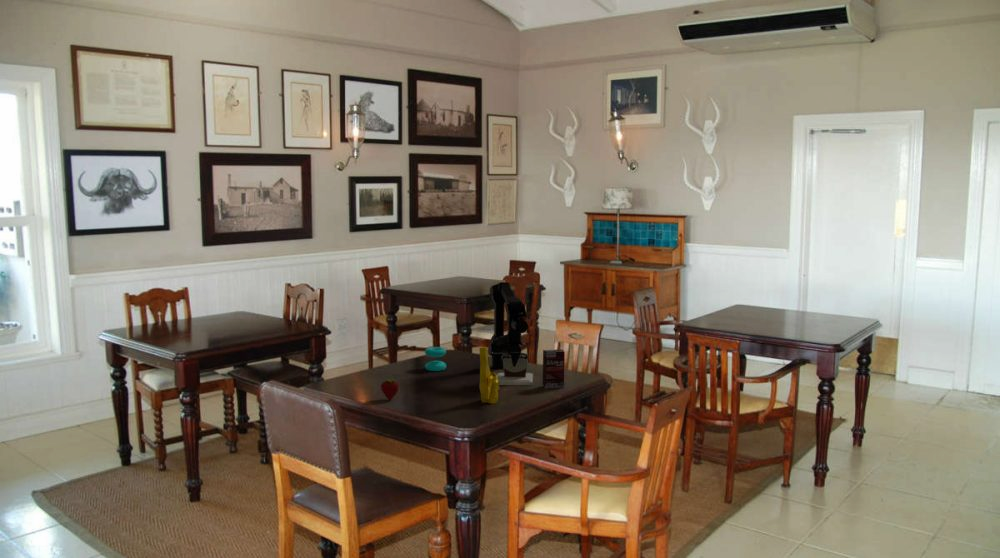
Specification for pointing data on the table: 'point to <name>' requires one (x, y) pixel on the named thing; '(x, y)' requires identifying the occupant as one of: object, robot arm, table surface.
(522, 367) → the food container
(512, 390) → the table surface
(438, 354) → the donuts
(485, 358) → the yellow tall lumpy piece
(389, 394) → the strawberry
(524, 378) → the white square tray
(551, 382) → the supplement box
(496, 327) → the robot arm
